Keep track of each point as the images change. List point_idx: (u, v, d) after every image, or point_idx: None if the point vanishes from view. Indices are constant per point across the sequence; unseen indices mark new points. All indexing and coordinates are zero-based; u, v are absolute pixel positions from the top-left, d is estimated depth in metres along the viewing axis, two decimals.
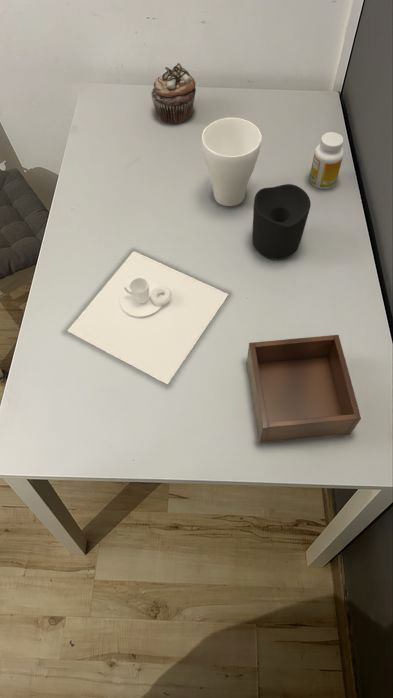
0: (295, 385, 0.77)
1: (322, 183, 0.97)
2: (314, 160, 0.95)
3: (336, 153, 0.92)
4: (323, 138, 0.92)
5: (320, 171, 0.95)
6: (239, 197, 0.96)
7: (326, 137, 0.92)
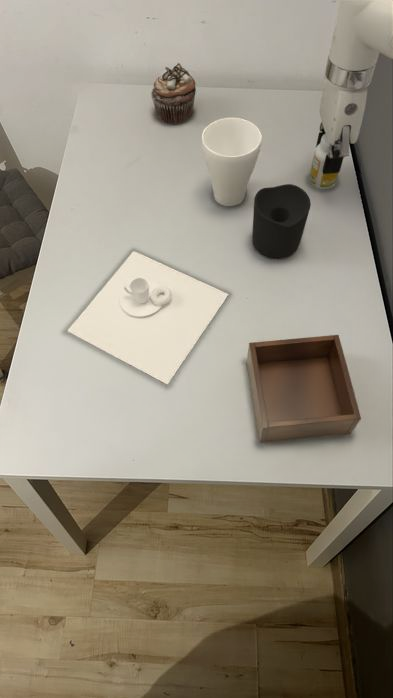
0: (295, 385, 0.77)
1: (322, 183, 0.97)
2: (314, 160, 0.95)
3: None
4: (323, 138, 0.92)
5: (320, 171, 0.95)
6: (239, 197, 0.96)
7: (326, 137, 0.92)
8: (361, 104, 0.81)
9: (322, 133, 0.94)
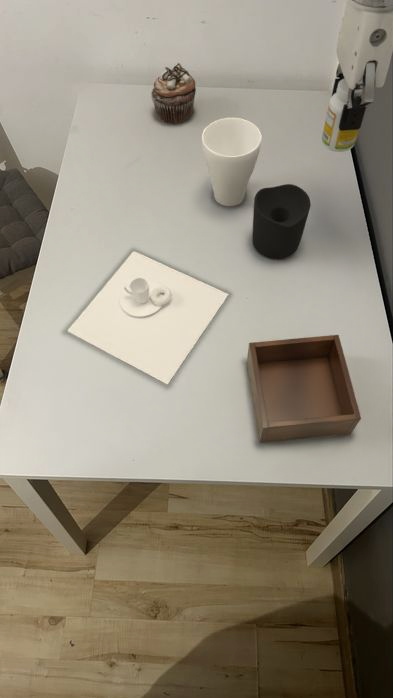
0: (295, 385, 0.77)
1: (338, 144, 0.79)
2: (328, 114, 0.76)
3: None
4: (340, 84, 0.73)
5: (336, 127, 0.76)
6: (239, 197, 0.96)
7: (344, 83, 0.73)
8: (392, 31, 0.62)
9: (339, 80, 0.75)
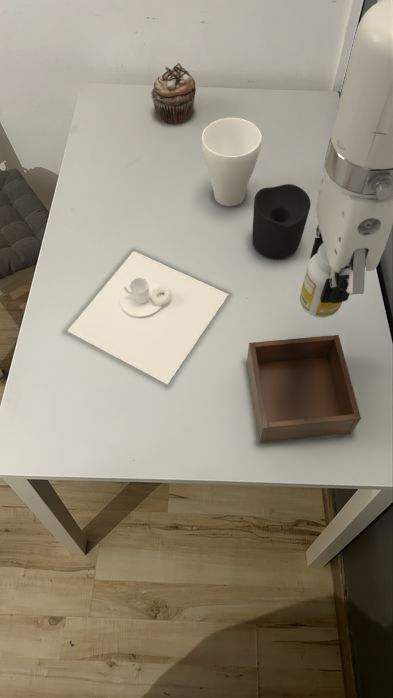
0: (295, 385, 0.77)
1: (319, 311, 0.63)
2: (307, 279, 0.61)
3: (341, 274, 0.58)
4: (321, 251, 0.57)
5: (316, 296, 0.61)
6: (239, 197, 0.96)
7: None
8: (388, 219, 0.46)
9: (320, 239, 0.59)
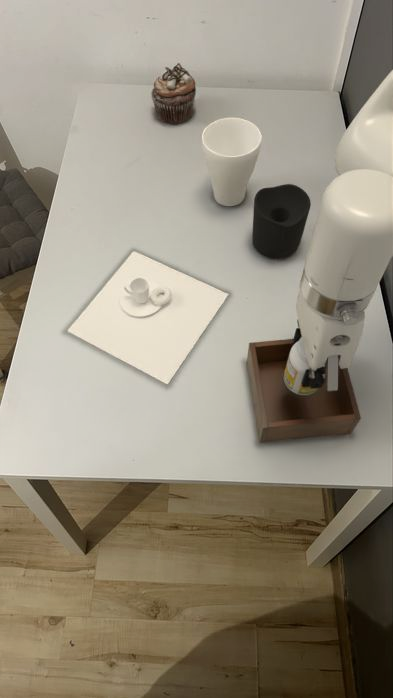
0: None
1: (301, 390, 0.69)
2: (289, 365, 0.67)
3: None
4: (301, 344, 0.63)
5: (298, 380, 0.67)
6: (239, 197, 0.96)
7: None
8: (356, 335, 0.52)
9: (301, 330, 0.66)
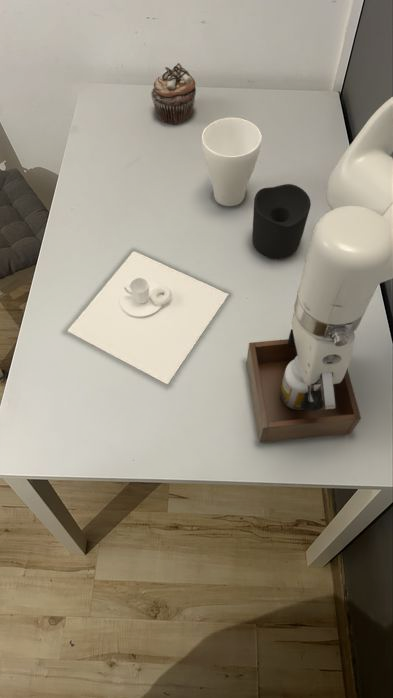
0: None
1: (296, 406, 0.74)
2: (284, 382, 0.72)
3: None
4: (295, 364, 0.68)
5: (293, 396, 0.72)
6: (239, 197, 0.96)
7: None
8: (347, 354, 0.56)
9: None
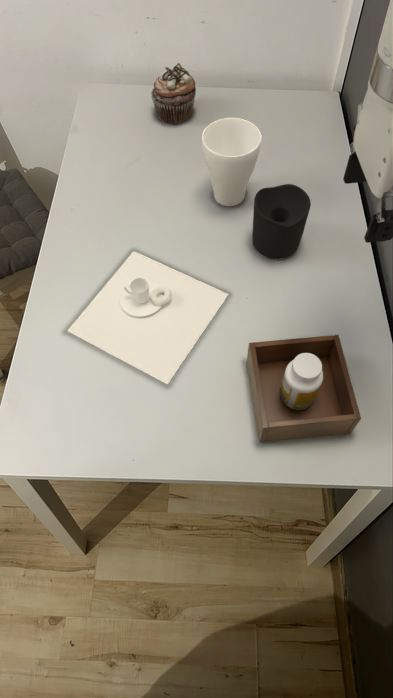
0: None
1: (296, 406, 0.74)
2: (284, 382, 0.72)
3: (313, 381, 0.69)
4: (295, 364, 0.68)
5: (293, 396, 0.72)
6: (239, 197, 0.96)
7: (299, 362, 0.68)
8: None
9: (355, 156, 0.60)
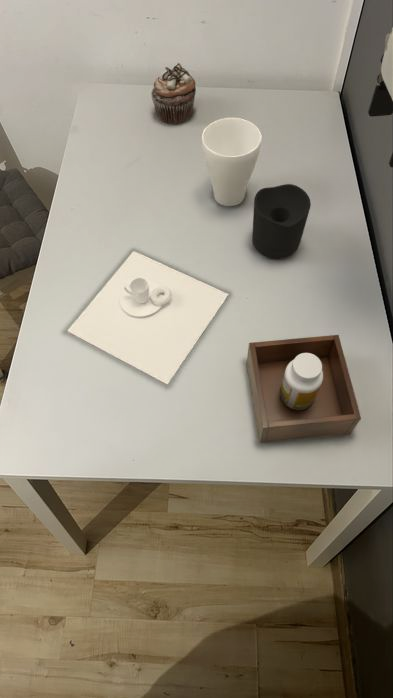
0: None
1: (296, 406, 0.74)
2: (284, 382, 0.72)
3: (313, 381, 0.69)
4: (295, 364, 0.68)
5: (293, 396, 0.72)
6: (239, 197, 0.96)
7: (299, 362, 0.68)
8: None
9: (381, 87, 0.62)
